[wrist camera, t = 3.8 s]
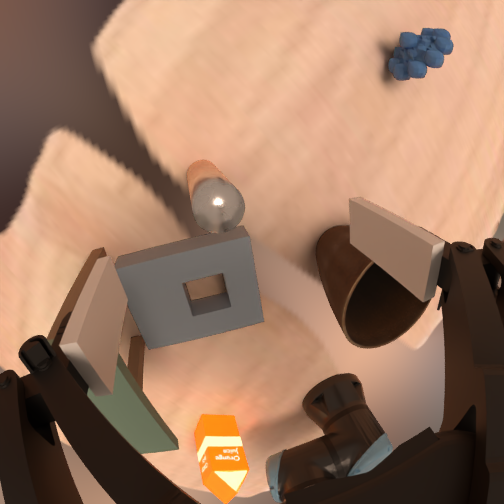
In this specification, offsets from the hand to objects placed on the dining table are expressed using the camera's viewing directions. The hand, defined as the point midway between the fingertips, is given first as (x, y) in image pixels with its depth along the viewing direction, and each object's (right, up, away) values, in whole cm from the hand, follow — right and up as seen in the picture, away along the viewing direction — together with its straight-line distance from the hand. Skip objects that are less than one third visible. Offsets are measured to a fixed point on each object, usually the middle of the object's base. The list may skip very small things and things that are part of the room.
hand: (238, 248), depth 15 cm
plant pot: (+14, +1, +31) cm, 34 cm away
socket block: (-8, -5, +27) cm, 29 cm away
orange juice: (-8, -40, +43) cm, 59 cm away
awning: (-17, -7, +26) cm, 32 cm away
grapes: (+23, +31, +19) cm, 43 cm away
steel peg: (-6, +10, +21) cm, 24 cm away
